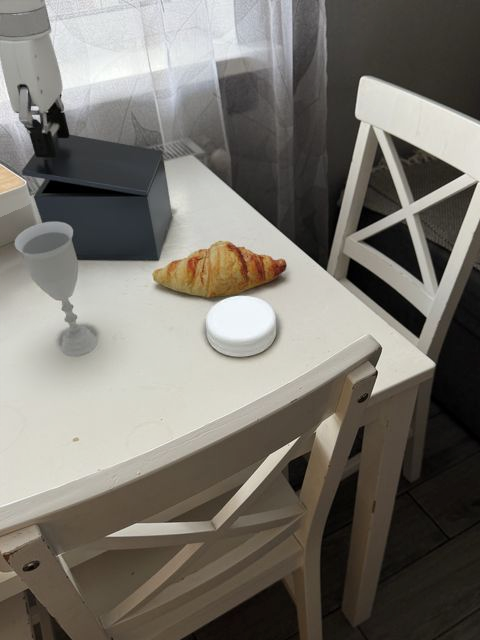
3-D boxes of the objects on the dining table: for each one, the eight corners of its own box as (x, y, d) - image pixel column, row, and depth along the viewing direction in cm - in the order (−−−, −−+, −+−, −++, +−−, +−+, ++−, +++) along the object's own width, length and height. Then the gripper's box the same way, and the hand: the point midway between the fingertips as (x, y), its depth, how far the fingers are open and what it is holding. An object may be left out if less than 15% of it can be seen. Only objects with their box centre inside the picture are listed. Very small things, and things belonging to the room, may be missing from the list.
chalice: (79, 321, 89) (46, 216, 77) (114, 336, 87) (85, 230, 74) (43, 351, 85) (1, 244, 72) (78, 367, 82) (41, 260, 70)
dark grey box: (54, 260, 101) (33, 196, 93) (77, 216, 111) (60, 155, 103) (158, 260, 100) (147, 196, 92) (172, 216, 110) (163, 155, 102)
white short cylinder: (215, 309, 90) (213, 291, 88) (280, 315, 89) (280, 296, 87) (200, 355, 83) (197, 336, 81) (270, 361, 82) (270, 343, 79)
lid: (22, 175, 90) (18, 143, 87) (50, 135, 100) (48, 105, 97) (146, 196, 92) (147, 165, 88) (162, 155, 102) (163, 126, 98)
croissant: (157, 313, 95) (147, 293, 88) (154, 257, 98) (145, 233, 91) (288, 301, 96) (290, 280, 88) (282, 246, 99) (283, 221, 91)
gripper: (16, 4, 88) (47, 123, 101) (-32, 41, 76) (10, 172, 88) (66, 4, 88) (91, 124, 100) (26, 41, 76) (60, 173, 88)
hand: (53, 145), depth 94 cm, fingers closed on lid, 6 cm apart
